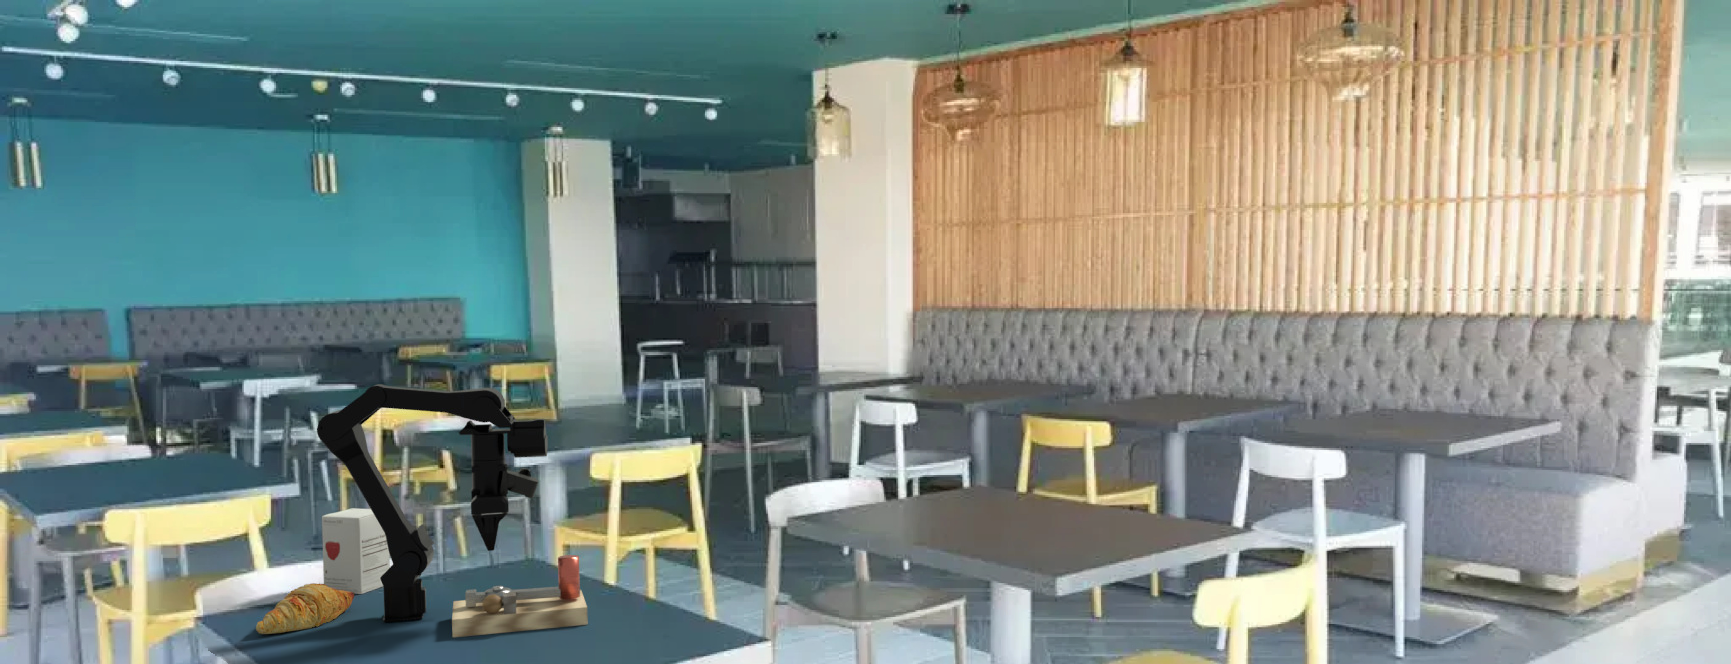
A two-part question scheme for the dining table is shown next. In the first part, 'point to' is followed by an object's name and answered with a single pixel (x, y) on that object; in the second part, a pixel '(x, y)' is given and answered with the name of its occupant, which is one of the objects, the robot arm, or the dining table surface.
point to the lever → (566, 589)
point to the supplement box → (354, 551)
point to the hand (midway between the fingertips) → (490, 545)
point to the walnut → (492, 603)
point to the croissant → (305, 609)
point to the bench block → (518, 615)
